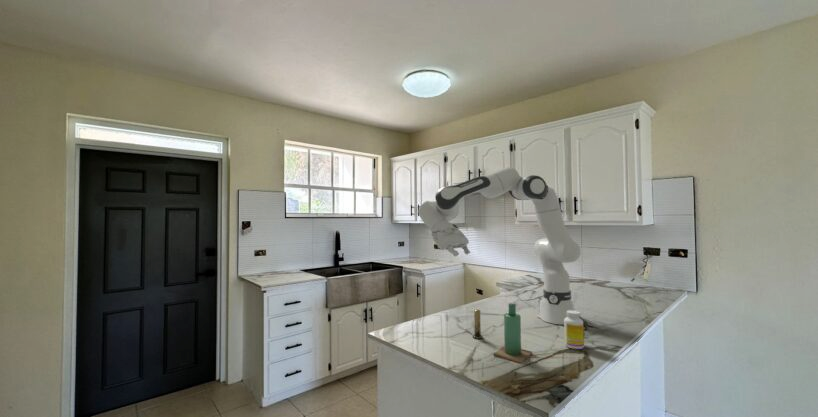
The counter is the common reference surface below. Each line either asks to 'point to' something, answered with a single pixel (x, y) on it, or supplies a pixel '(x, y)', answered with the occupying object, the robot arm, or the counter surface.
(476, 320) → the post
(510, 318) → the bottle
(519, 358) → the plate
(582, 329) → the supplement bottle
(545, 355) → the counter surface
